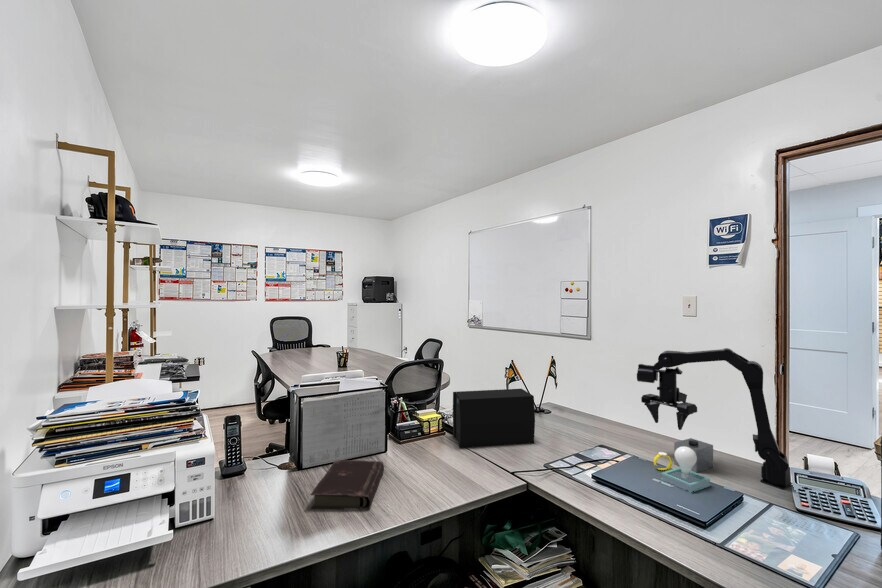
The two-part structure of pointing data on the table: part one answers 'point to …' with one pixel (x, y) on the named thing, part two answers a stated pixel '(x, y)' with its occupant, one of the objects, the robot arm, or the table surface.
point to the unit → (697, 453)
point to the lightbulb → (685, 460)
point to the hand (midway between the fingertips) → (668, 426)
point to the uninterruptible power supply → (493, 417)
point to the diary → (348, 484)
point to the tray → (702, 479)
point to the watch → (662, 454)
